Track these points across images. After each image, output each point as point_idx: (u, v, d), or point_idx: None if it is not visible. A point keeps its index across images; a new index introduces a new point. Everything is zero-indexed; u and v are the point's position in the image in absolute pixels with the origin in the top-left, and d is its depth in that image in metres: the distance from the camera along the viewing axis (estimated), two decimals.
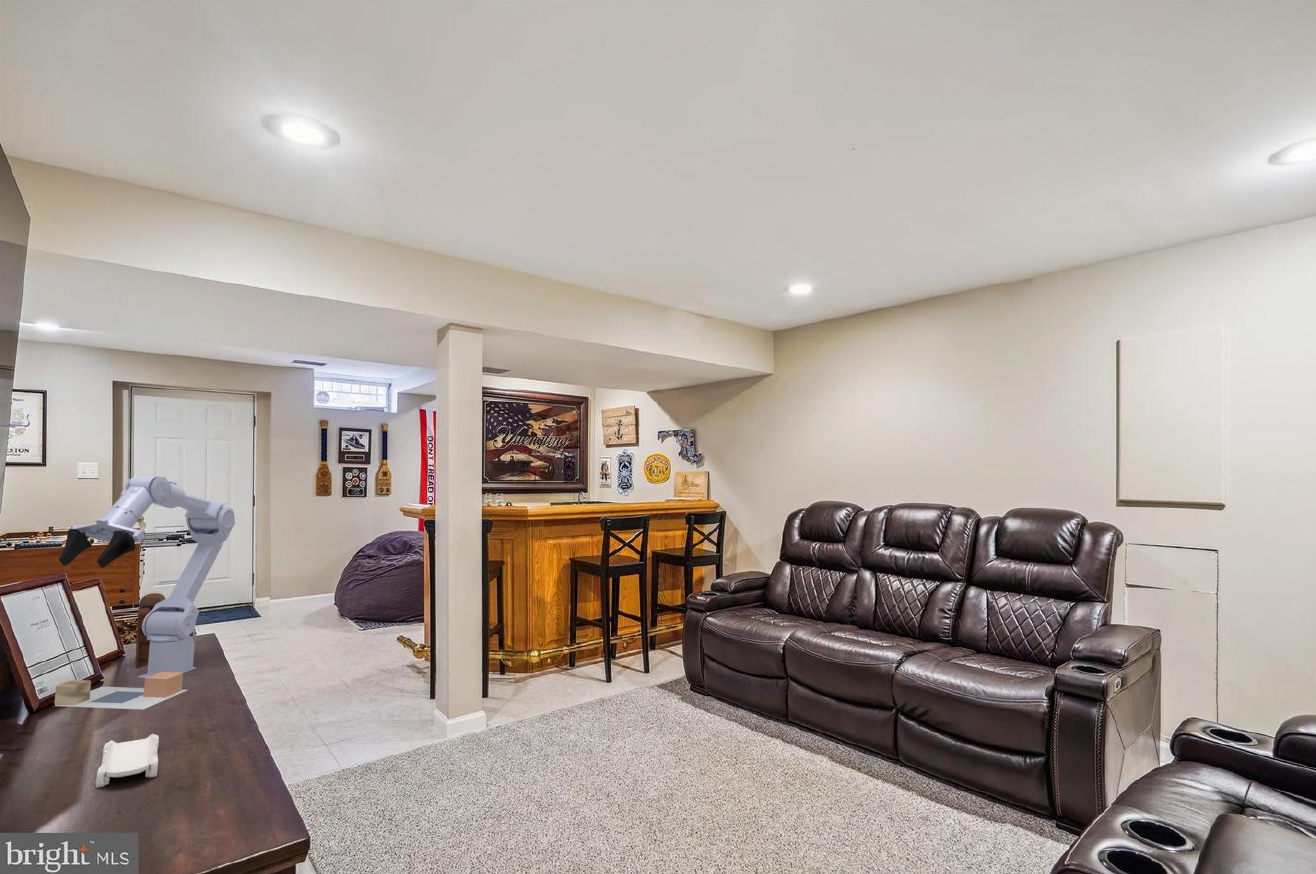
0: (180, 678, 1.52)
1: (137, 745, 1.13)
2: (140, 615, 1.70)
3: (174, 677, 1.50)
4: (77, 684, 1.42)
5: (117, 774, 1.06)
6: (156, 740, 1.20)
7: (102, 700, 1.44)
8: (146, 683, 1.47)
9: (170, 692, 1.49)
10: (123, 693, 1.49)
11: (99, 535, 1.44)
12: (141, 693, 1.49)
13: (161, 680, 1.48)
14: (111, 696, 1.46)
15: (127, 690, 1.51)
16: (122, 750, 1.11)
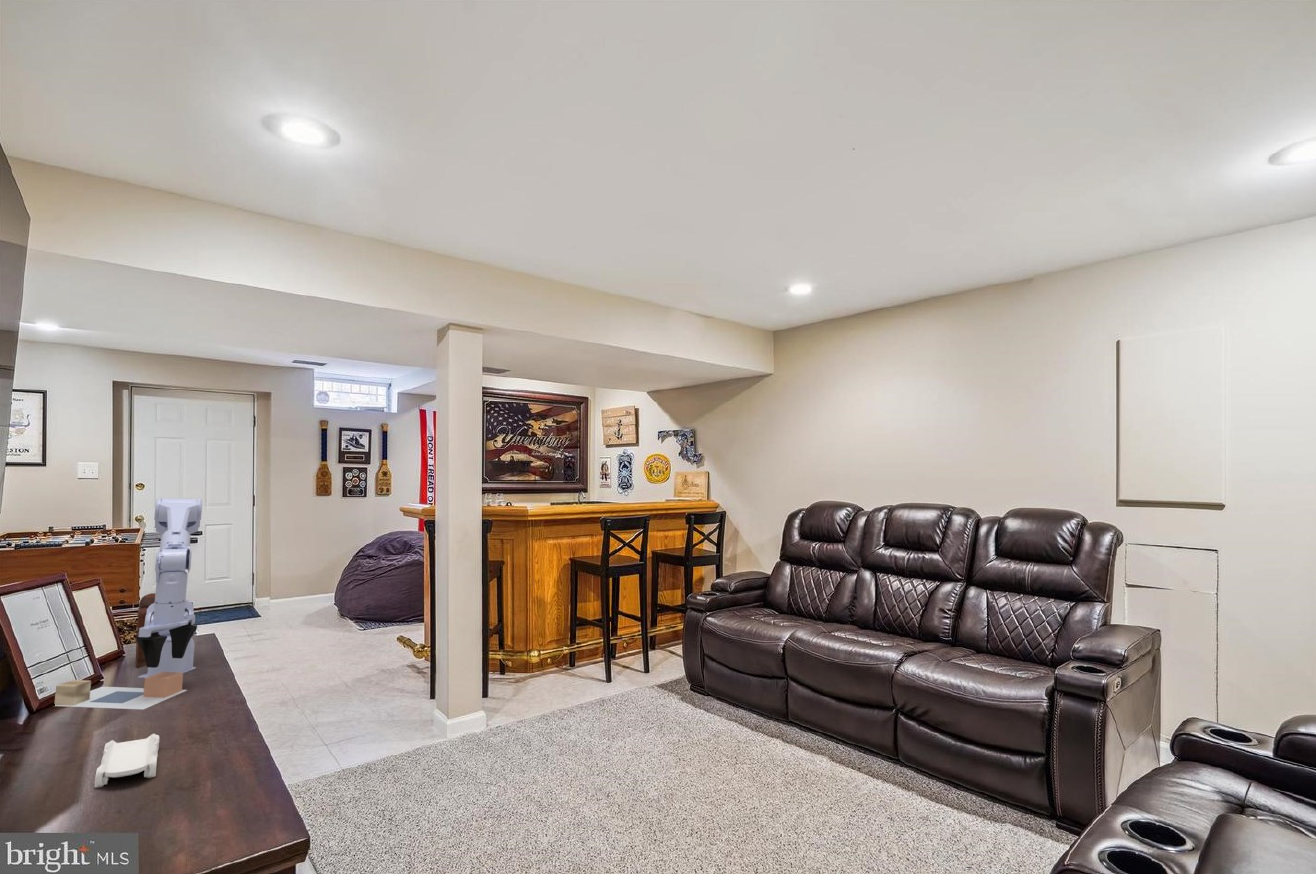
0: (180, 678, 1.52)
1: (136, 745, 1.13)
2: (140, 615, 1.70)
3: (174, 677, 1.50)
4: (77, 684, 1.42)
5: (115, 774, 1.06)
6: (156, 740, 1.20)
7: (102, 700, 1.44)
8: (146, 683, 1.47)
9: (170, 692, 1.49)
10: (123, 693, 1.49)
11: (165, 629, 1.50)
12: (141, 693, 1.49)
13: (161, 680, 1.48)
14: (111, 696, 1.46)
15: (127, 690, 1.51)
16: (121, 750, 1.11)
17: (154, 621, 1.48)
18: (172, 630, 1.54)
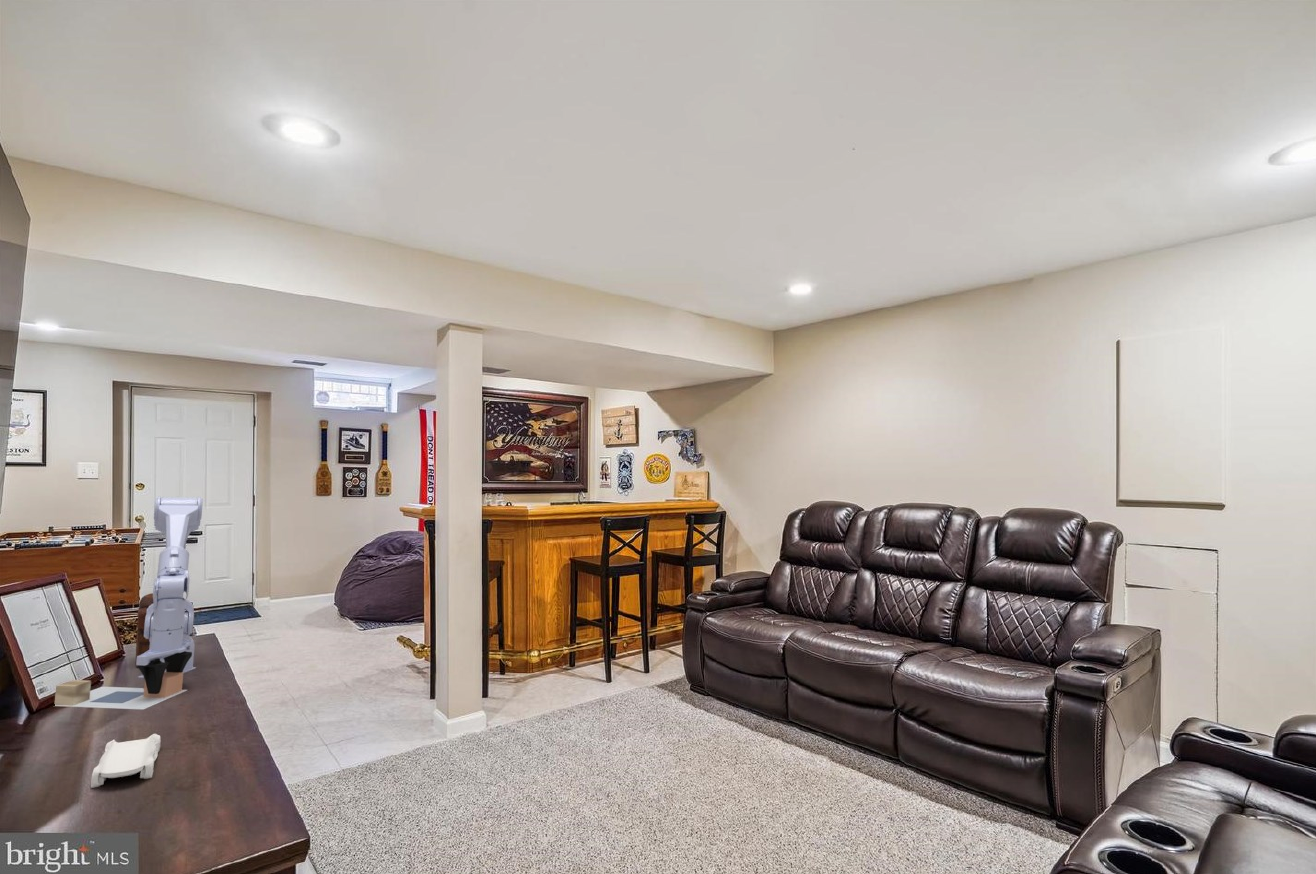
0: (180, 678, 1.52)
1: (135, 745, 1.13)
2: (140, 615, 1.70)
3: (174, 677, 1.50)
4: (77, 684, 1.42)
5: (110, 775, 1.06)
6: (157, 740, 1.20)
7: (102, 700, 1.44)
8: None
9: (170, 692, 1.49)
10: (123, 693, 1.49)
11: (163, 656, 1.49)
12: (141, 693, 1.49)
13: None
14: (111, 696, 1.46)
15: (127, 690, 1.51)
16: (119, 750, 1.11)
17: (152, 648, 1.48)
18: (167, 657, 1.53)
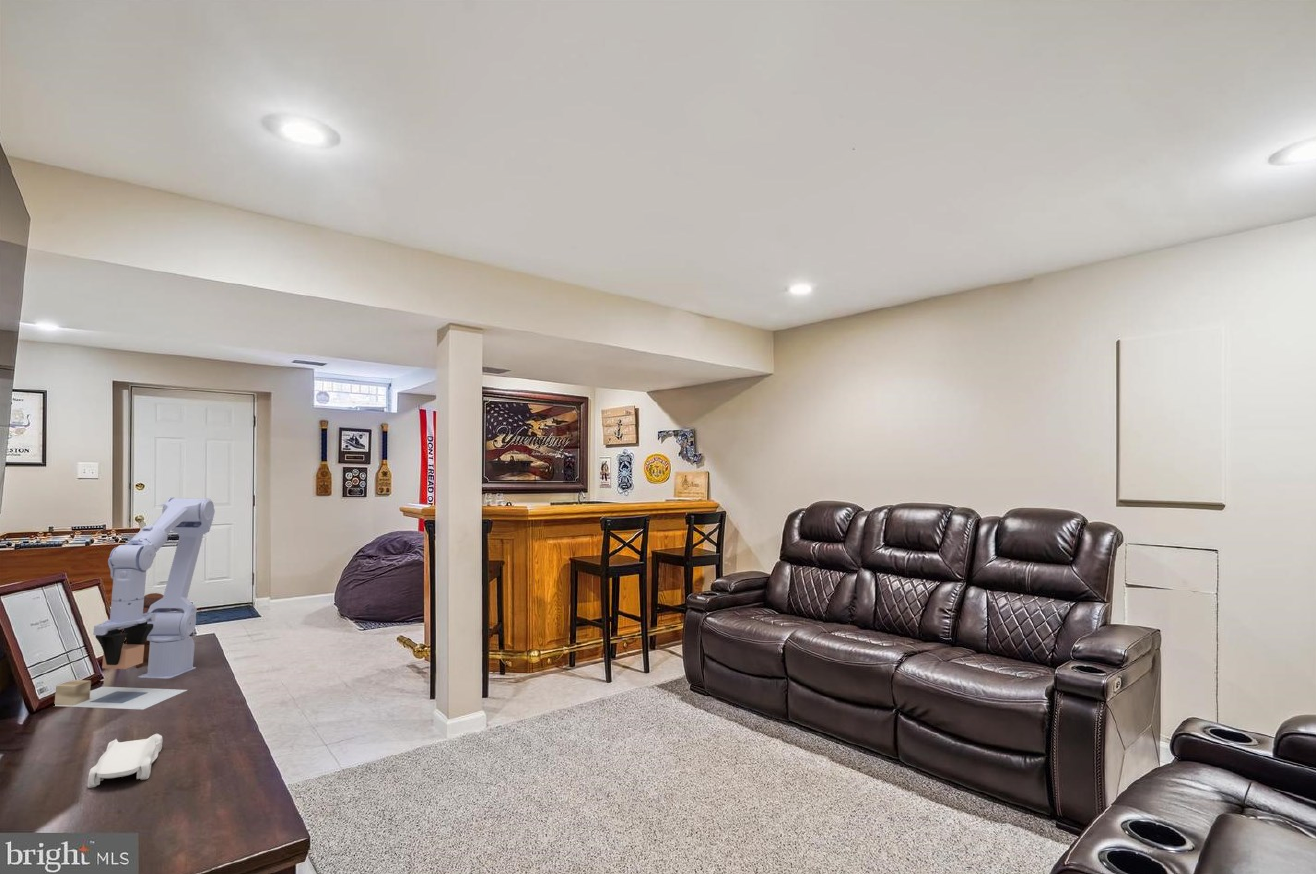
0: (141, 650, 1.49)
1: (133, 746, 1.13)
2: None
3: (134, 649, 1.47)
4: (77, 684, 1.42)
5: (106, 775, 1.06)
6: (158, 740, 1.20)
7: (102, 700, 1.44)
8: None
9: (130, 664, 1.46)
10: (123, 693, 1.49)
11: (122, 627, 1.46)
12: (141, 693, 1.49)
13: None
14: (111, 696, 1.46)
15: (127, 690, 1.51)
16: (117, 750, 1.11)
17: (111, 619, 1.45)
18: (127, 629, 1.50)
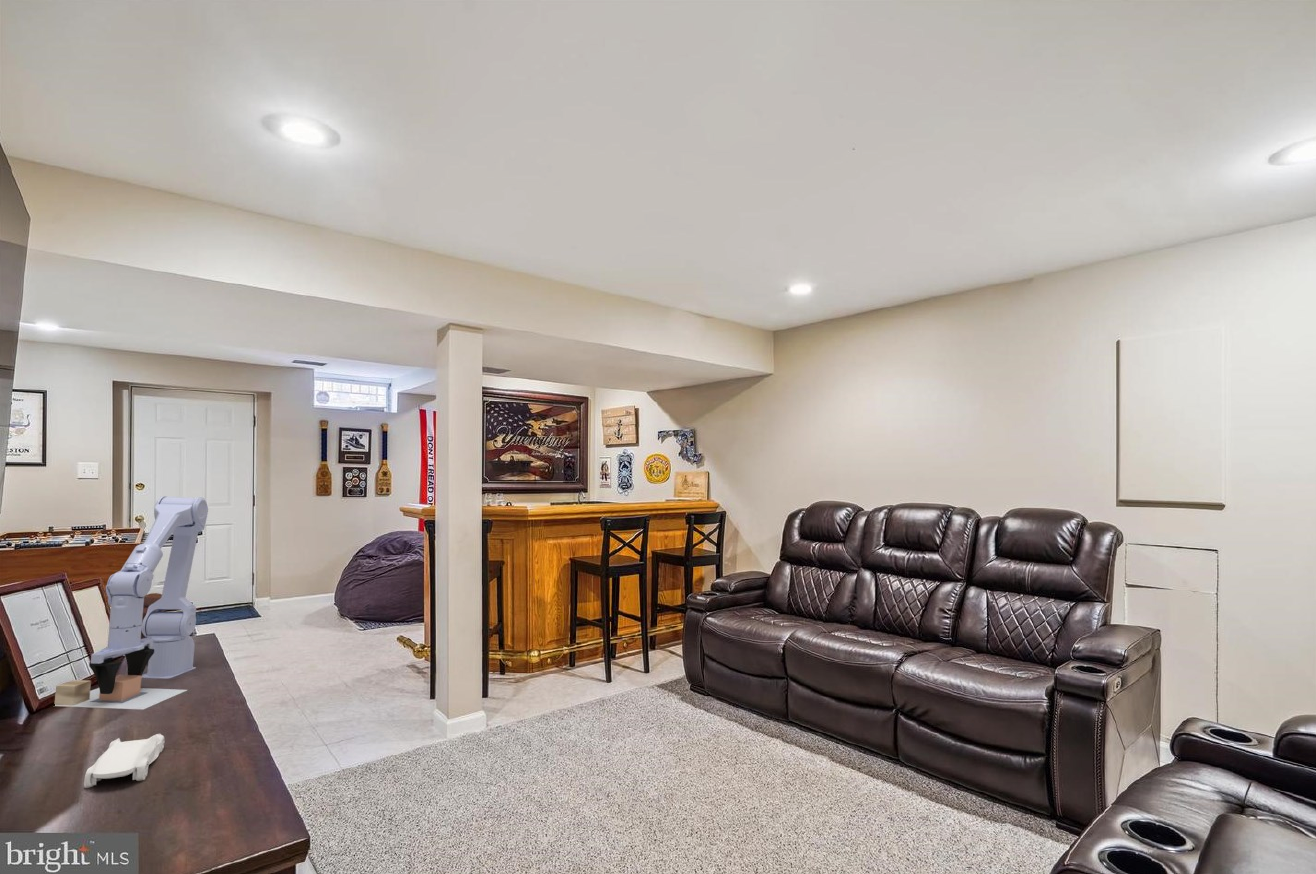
0: (138, 681, 1.48)
1: (131, 746, 1.13)
2: None
3: (131, 680, 1.46)
4: (77, 684, 1.42)
5: (101, 776, 1.06)
6: (159, 741, 1.20)
7: (102, 700, 1.44)
8: None
9: (127, 696, 1.45)
10: None
11: (120, 654, 1.46)
12: (141, 693, 1.49)
13: (117, 683, 1.44)
14: None
15: None
16: (115, 751, 1.11)
17: (108, 646, 1.45)
18: (128, 654, 1.51)
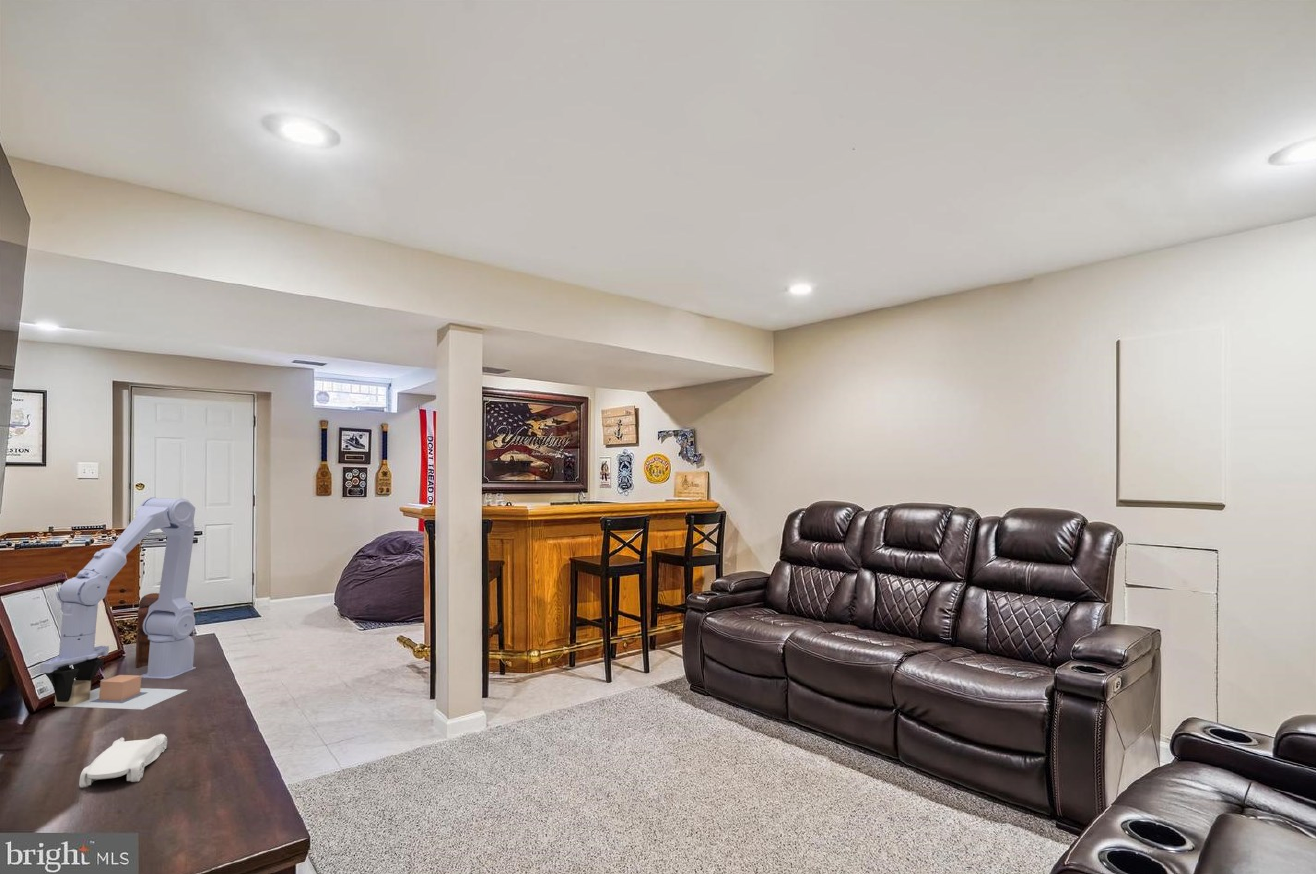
0: (138, 681, 1.48)
1: (129, 746, 1.13)
2: (140, 615, 1.70)
3: (131, 680, 1.46)
4: (77, 684, 1.42)
5: (94, 776, 1.05)
6: (160, 741, 1.20)
7: (102, 700, 1.44)
8: (101, 687, 1.44)
9: (127, 696, 1.45)
10: None
11: (72, 663, 1.42)
12: (141, 693, 1.49)
13: (117, 683, 1.44)
14: None
15: None
16: (112, 751, 1.11)
17: (59, 655, 1.41)
18: (76, 665, 1.45)
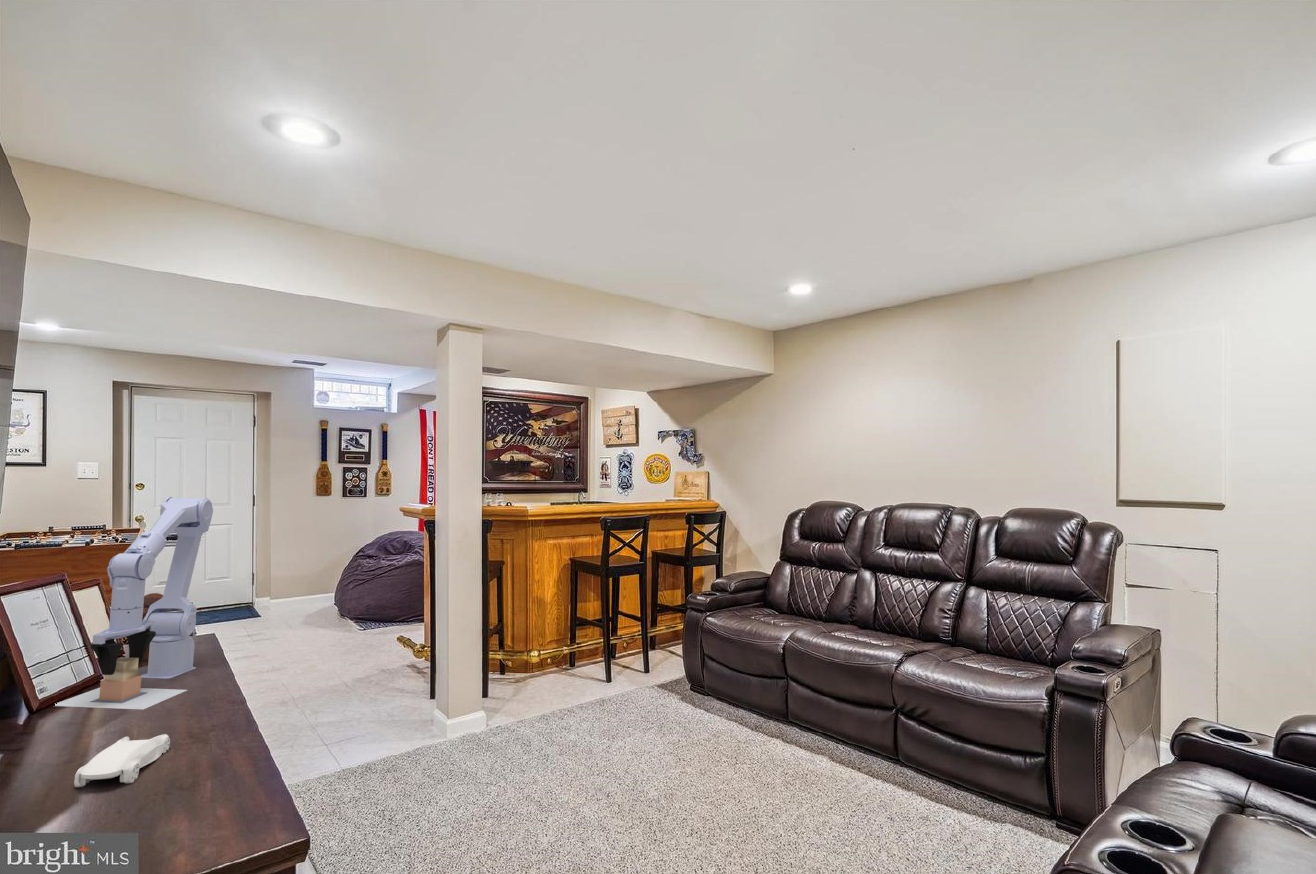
0: (138, 681, 1.48)
1: (127, 747, 1.13)
2: None
3: (131, 680, 1.46)
4: (126, 661, 1.46)
5: (87, 777, 1.05)
6: (162, 742, 1.20)
7: (102, 700, 1.44)
8: (102, 687, 1.44)
9: (127, 695, 1.45)
10: None
11: (122, 636, 1.46)
12: (141, 693, 1.49)
13: (117, 683, 1.44)
14: None
15: None
16: (109, 751, 1.11)
17: (110, 627, 1.45)
18: (130, 636, 1.51)
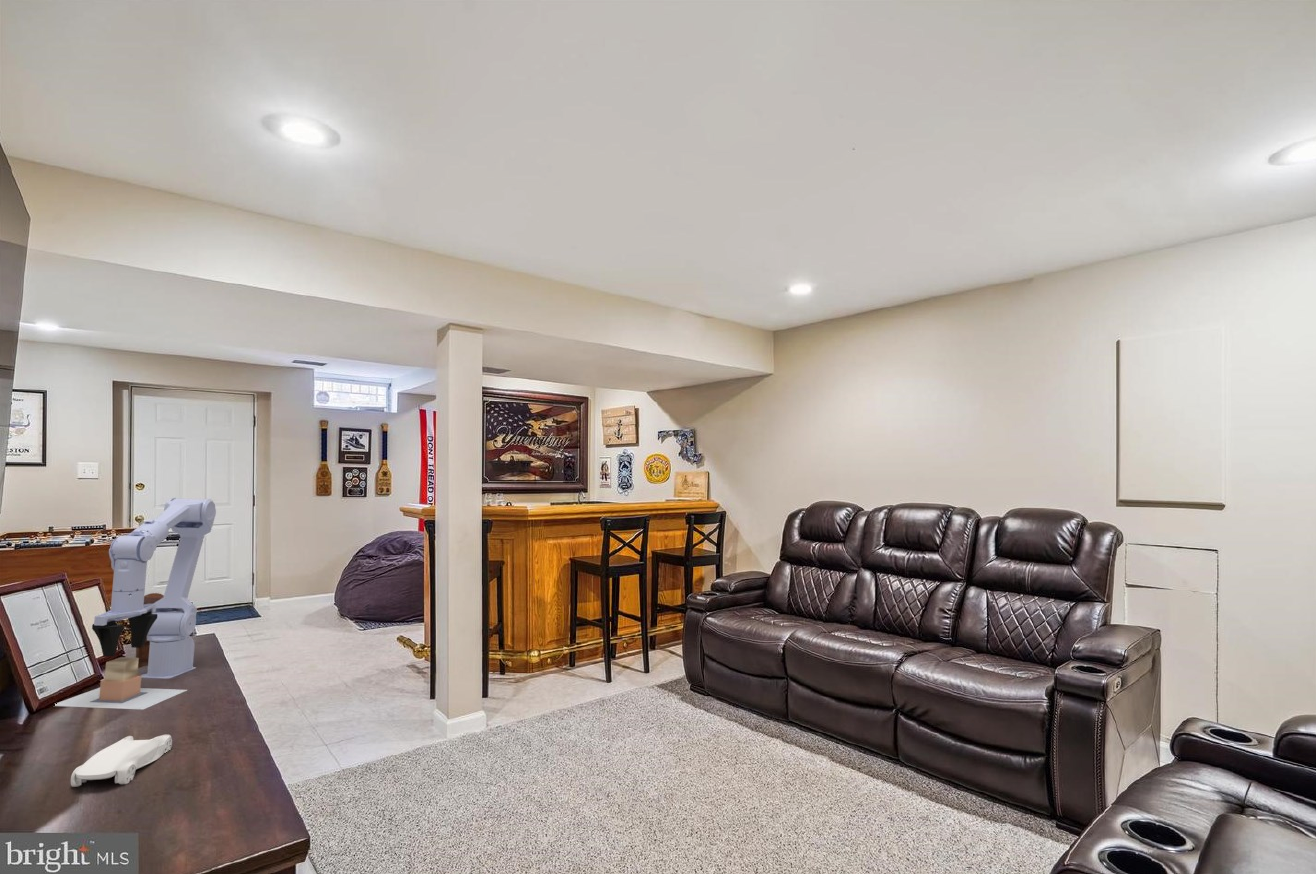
0: (138, 681, 1.48)
1: (125, 747, 1.12)
2: None
3: (131, 680, 1.46)
4: (126, 661, 1.46)
5: (82, 777, 1.05)
6: (163, 742, 1.20)
7: (102, 700, 1.44)
8: (102, 687, 1.44)
9: (127, 695, 1.45)
10: None
11: (123, 618, 1.46)
12: (141, 693, 1.49)
13: (117, 683, 1.44)
14: None
15: None
16: (107, 751, 1.11)
17: (111, 609, 1.45)
18: (131, 619, 1.51)
